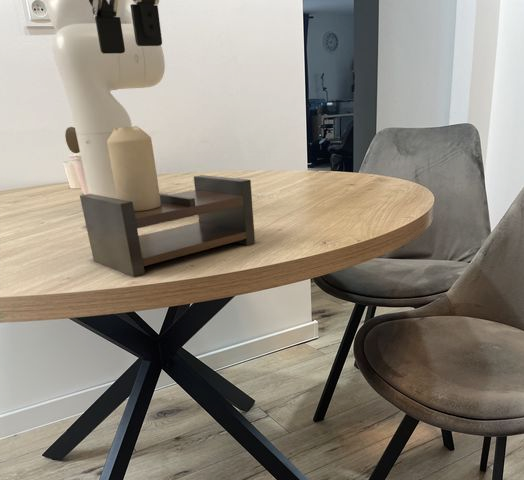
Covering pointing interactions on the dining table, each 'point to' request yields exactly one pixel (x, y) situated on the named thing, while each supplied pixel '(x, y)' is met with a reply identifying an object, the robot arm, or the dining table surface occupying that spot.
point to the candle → (134, 167)
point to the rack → (172, 208)
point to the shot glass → (71, 175)
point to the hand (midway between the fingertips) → (130, 49)
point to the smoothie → (79, 171)
